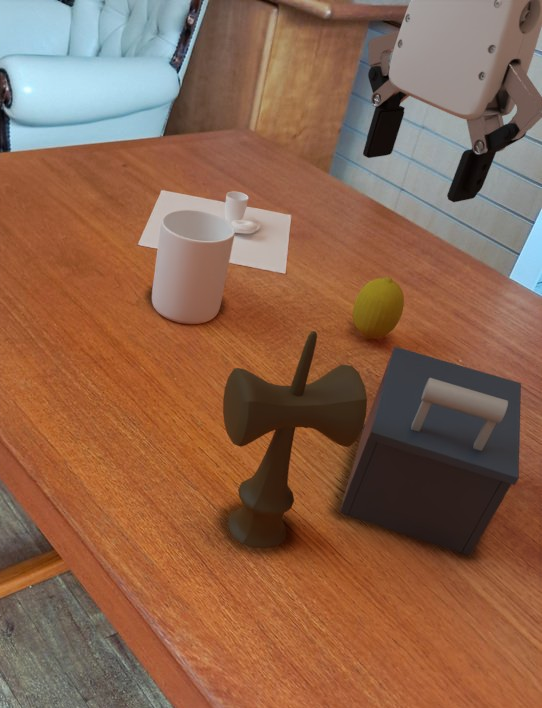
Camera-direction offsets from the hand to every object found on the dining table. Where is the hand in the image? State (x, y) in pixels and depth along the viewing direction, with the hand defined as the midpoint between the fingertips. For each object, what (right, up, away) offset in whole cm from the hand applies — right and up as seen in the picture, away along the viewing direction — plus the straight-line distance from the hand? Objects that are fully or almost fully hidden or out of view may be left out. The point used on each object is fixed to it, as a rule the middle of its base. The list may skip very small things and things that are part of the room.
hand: (417, 176), depth 68 cm
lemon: (+3, -9, +27) cm, 28 cm away
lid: (+2, -21, -1) cm, 21 cm away
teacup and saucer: (-14, +10, +44) cm, 48 cm away
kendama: (-14, -31, -1) cm, 34 cm away
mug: (-19, -4, +28) cm, 34 cm away
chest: (+1, -27, +6) cm, 28 cm away
